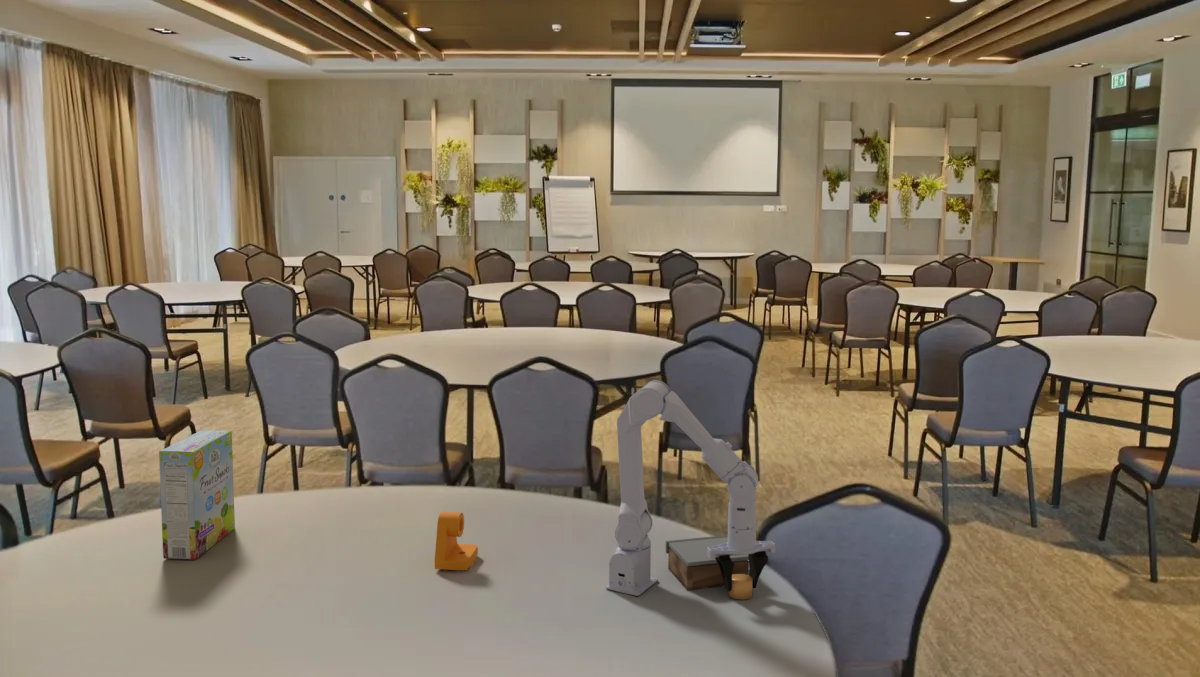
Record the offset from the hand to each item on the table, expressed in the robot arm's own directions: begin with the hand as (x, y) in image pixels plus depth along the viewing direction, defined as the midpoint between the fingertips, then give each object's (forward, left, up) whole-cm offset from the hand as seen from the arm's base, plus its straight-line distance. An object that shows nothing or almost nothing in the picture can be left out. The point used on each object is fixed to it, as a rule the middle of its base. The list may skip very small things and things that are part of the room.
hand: (740, 587), depth 190 cm
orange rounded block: (0, 0, -1) cm, 1 cm away
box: (+6, +10, -2) cm, 12 cm away
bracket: (-16, +62, -2) cm, 64 cm away
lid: (+6, +10, +2) cm, 12 cm away
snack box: (-37, +123, -2) cm, 128 cm away
